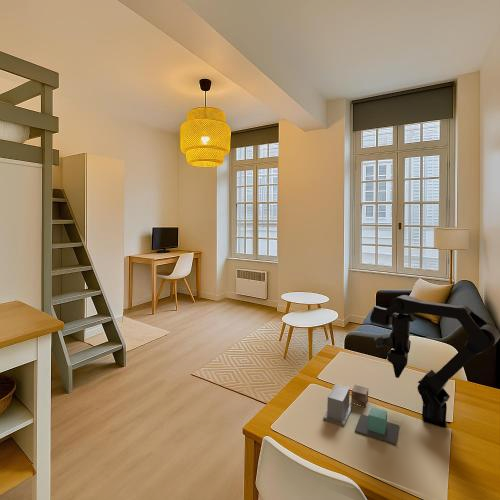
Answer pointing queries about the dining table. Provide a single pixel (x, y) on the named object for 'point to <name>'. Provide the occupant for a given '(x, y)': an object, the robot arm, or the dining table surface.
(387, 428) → the dark grey mat
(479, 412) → the dining table surface
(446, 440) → the dining table surface
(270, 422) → the dining table surface
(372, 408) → the teal block
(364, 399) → the walnut block
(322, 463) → the dining table surface
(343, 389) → the grey upright box
